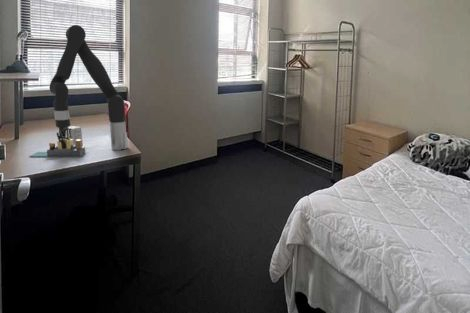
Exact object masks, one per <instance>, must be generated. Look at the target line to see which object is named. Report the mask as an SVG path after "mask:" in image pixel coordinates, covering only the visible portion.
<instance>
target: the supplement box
mask: <svg viewBox="0 0 470 313" xmlns="http://www.w3.org/2000/svg"><path fill="white" fill-rule="evenodd" d="M68 128H71V138H70V139H73V144H74V145H76V142H75V141H76V140H77V139H82V147H84V143H83V133H82V126H77V125H76V126H74V125H71V126H70V127H68Z"/></svg>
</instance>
